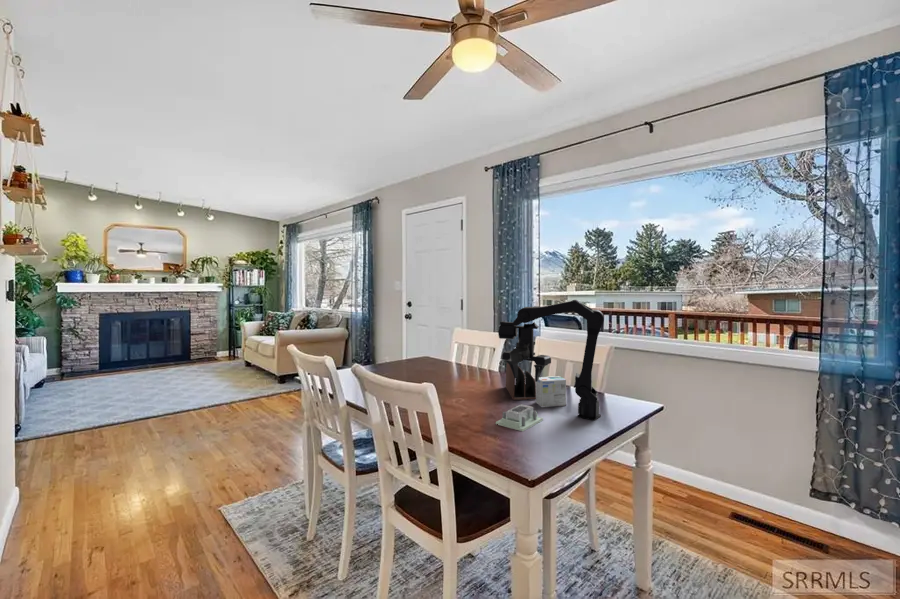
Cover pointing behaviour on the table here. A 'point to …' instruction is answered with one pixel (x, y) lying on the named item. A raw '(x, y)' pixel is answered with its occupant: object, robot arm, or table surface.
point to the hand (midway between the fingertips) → (525, 379)
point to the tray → (517, 425)
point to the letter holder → (520, 384)
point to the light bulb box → (551, 391)
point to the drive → (520, 413)
